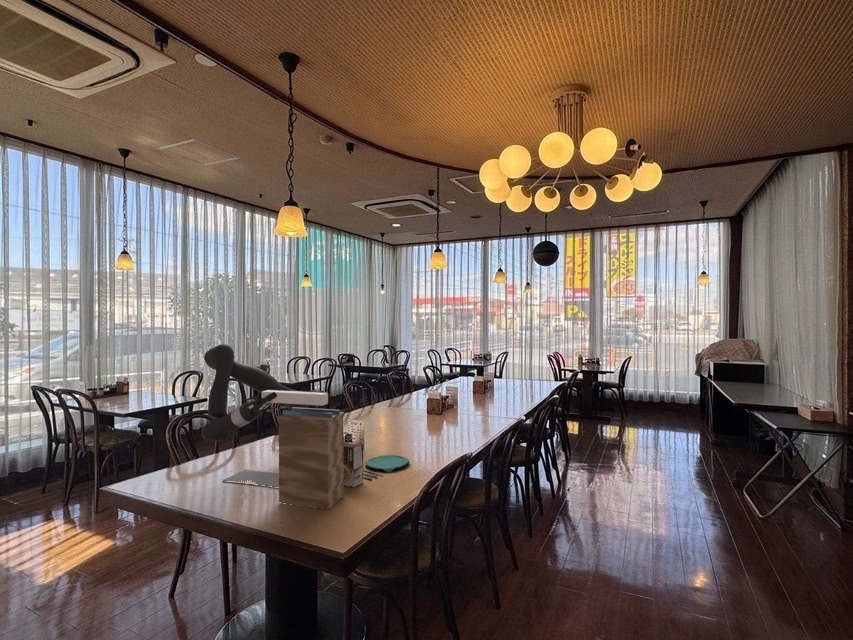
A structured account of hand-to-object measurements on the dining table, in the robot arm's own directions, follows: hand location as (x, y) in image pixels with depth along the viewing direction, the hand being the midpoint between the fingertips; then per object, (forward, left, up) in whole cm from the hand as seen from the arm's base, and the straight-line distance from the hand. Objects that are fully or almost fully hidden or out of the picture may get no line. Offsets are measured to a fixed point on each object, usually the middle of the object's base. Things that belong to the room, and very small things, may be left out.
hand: (279, 393), depth 170 cm
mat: (-14, -17, -39) cm, 45 cm away
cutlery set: (-41, +24, -40) cm, 63 cm away
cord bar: (0, +7, -3) cm, 7 cm away
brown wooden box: (0, +14, -39) cm, 42 cm away
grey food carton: (-20, +20, -40) cm, 49 cm away
